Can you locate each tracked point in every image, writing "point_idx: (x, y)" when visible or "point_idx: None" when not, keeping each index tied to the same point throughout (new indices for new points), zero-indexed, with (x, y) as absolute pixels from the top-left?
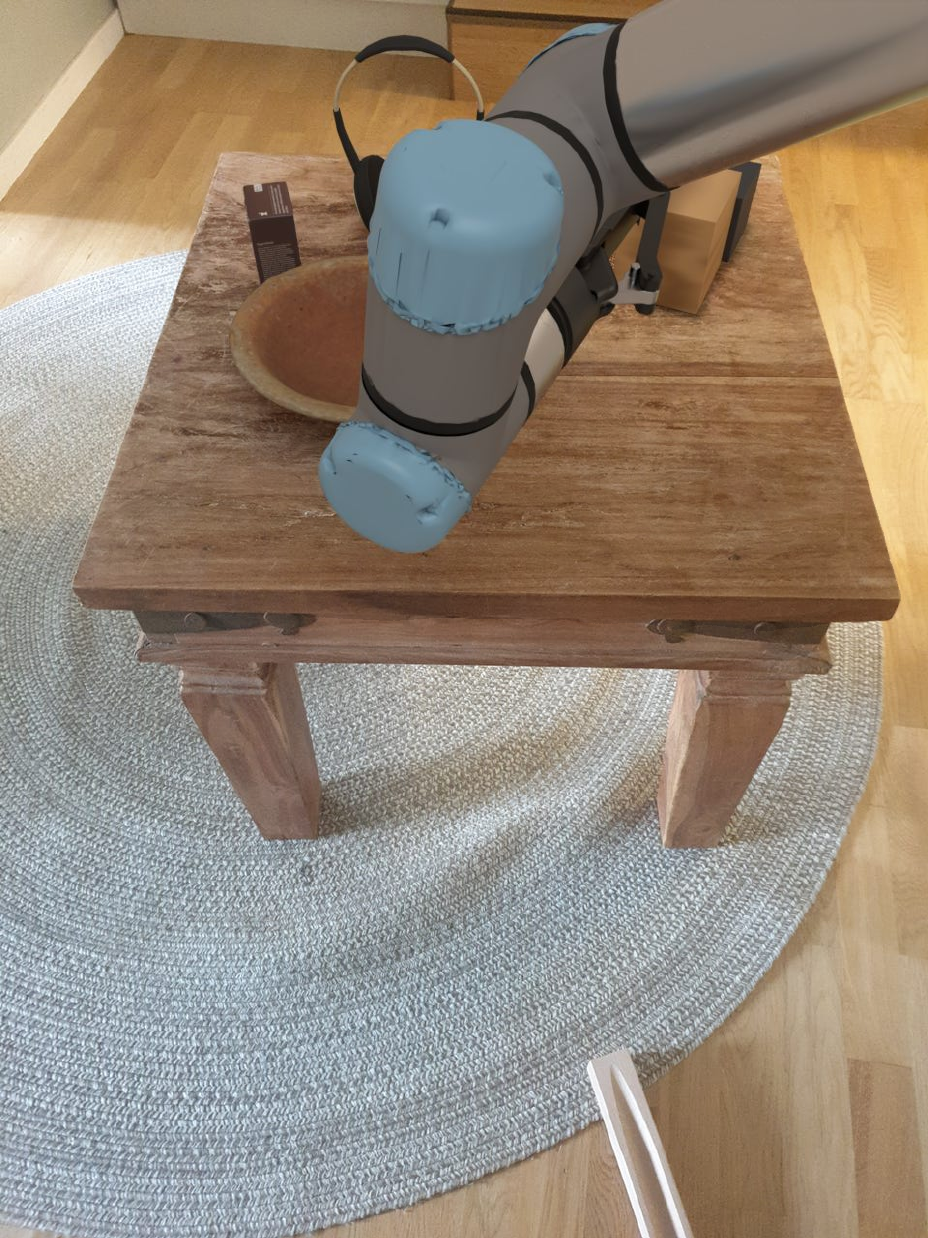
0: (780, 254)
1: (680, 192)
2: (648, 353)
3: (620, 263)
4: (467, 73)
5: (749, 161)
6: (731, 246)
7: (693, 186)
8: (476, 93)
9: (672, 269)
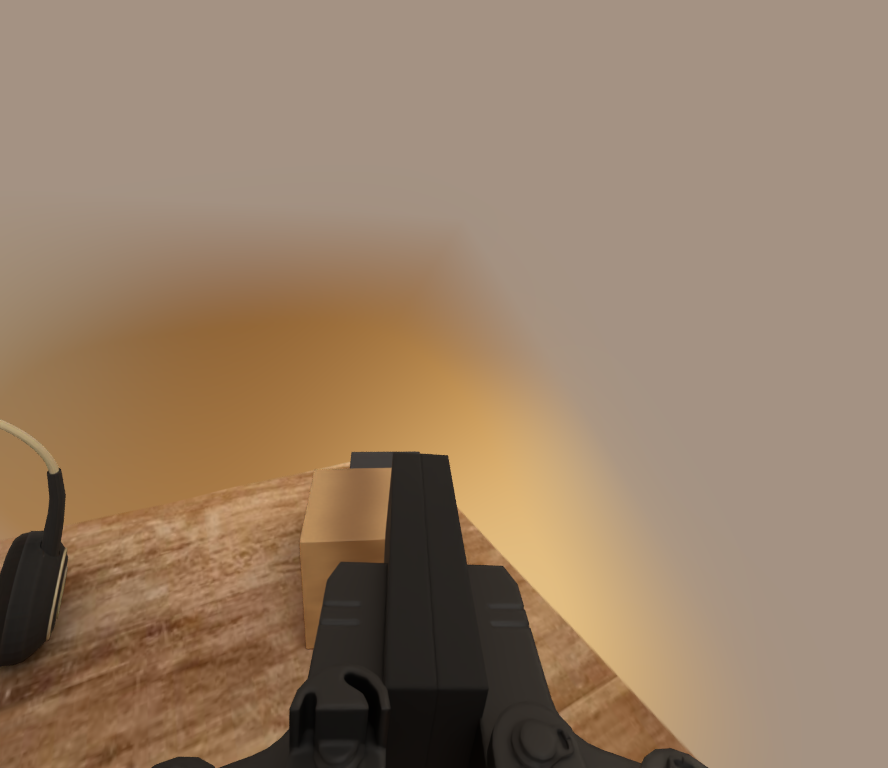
0: (463, 526)
1: (369, 508)
2: None
3: (313, 613)
4: (14, 429)
5: (407, 452)
6: None
7: (380, 496)
8: (38, 452)
9: None
